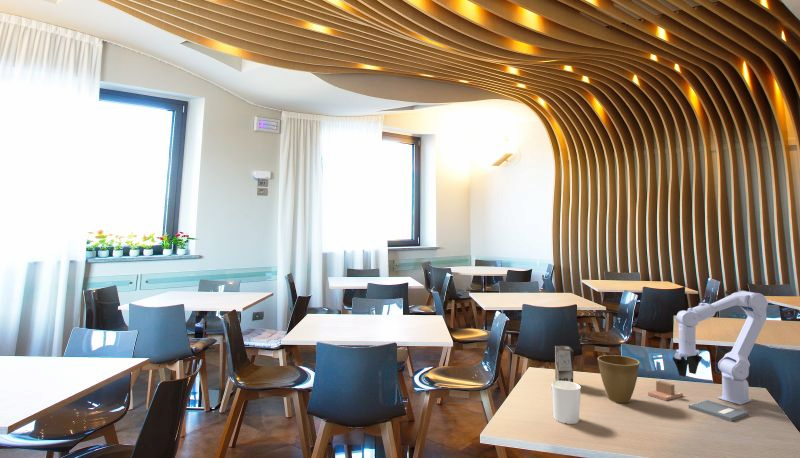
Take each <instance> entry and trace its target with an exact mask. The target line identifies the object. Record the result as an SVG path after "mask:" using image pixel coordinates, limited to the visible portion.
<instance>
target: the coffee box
mask: <svg viewBox="0 0 800 458" xmlns="http://www.w3.org/2000/svg"><path fill="white" fill-rule="evenodd" d="M554 348H555V349H554V351H555V352H554V354H555V355H554V359H555V360H554V361H555V362H554V364H555V365H554V367H555V368H554V370H555V376H554V377H555V379H554V380H555V381H569V382H573V383H574V350H573V348H572V347H571V346H569V345H554Z"/></svg>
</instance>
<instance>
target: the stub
mask: <svg viewBox="0 0 800 458" xmlns="http://www.w3.org/2000/svg"><path fill="white" fill-rule="evenodd" d="M655 383H656V384H655V387H656V388H655V390H652V391H649V392H647V395H648V396H650V397H653V398H657V399H660V400H663V401H669V400H672V399H676V398H678V397H679V398H680V397H682V396H684V395H683V394H684V393H683V392H681V391H680V392H679V391H677V390H675V384H674V383H670V382H666V381H664V380H657V381H655Z"/></svg>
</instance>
